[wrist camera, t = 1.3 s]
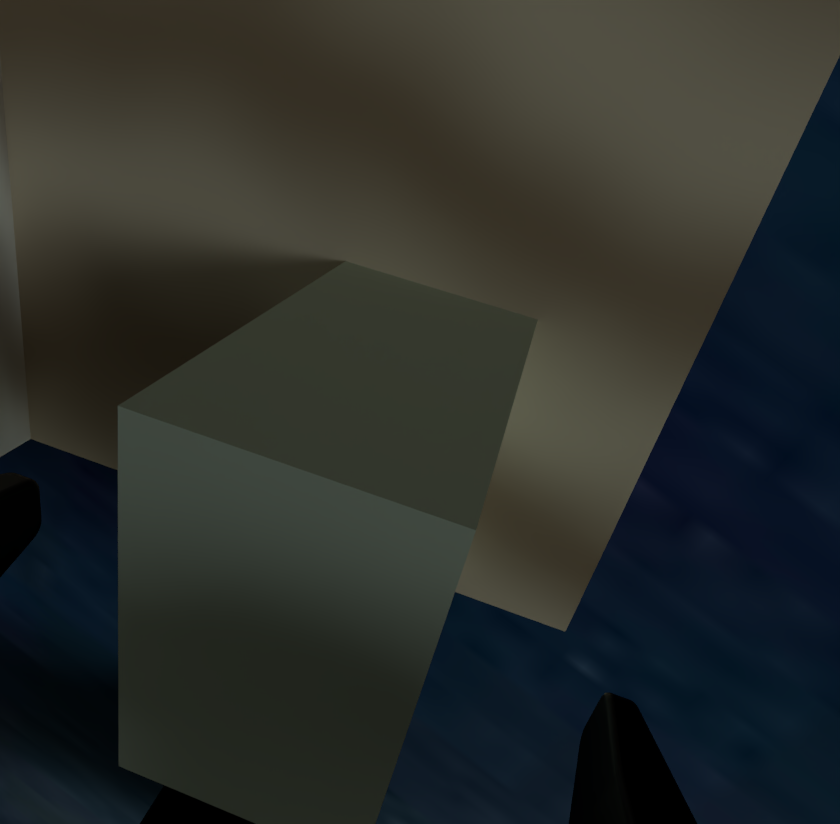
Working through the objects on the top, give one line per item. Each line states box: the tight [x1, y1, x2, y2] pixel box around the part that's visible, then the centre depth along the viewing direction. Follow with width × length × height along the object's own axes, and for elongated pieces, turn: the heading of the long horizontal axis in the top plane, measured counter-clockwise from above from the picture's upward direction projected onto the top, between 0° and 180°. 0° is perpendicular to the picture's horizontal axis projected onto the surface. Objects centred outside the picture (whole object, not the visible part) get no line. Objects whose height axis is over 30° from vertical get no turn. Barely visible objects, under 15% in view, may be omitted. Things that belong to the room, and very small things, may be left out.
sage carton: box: [118, 261, 538, 824], centre depth 11 cm, size 4×7×7 cm, turn 167°
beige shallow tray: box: [0, 0, 840, 631], centre depth 12 cm, size 19×16×2 cm
